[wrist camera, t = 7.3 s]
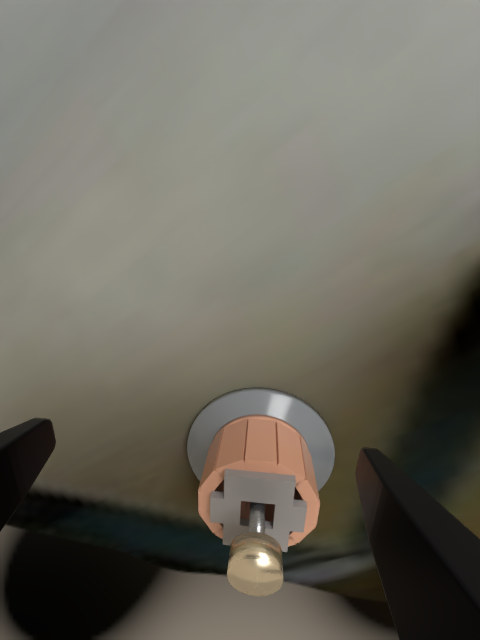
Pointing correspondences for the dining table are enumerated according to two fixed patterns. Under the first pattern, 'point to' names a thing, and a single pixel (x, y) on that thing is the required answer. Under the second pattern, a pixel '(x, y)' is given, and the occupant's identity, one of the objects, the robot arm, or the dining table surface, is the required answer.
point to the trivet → (262, 404)
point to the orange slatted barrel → (259, 480)
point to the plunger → (255, 558)
